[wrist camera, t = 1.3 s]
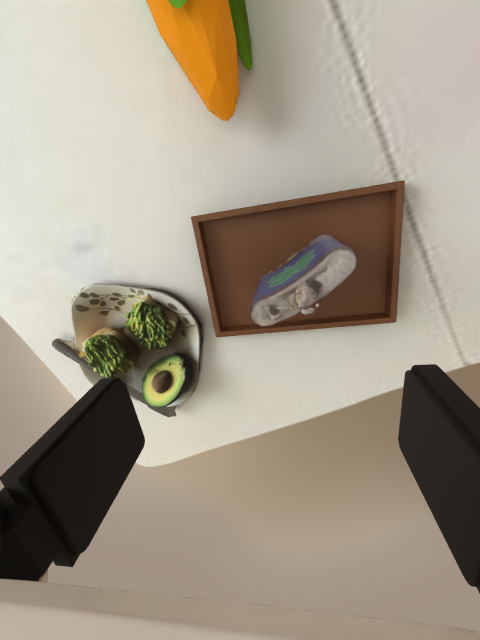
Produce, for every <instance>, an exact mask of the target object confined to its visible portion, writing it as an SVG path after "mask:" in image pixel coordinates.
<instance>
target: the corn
mask: <svg viewBox="0 0 480 640" xmlns="http://www.w3.org/2000/svg"><path fill="white" fill-rule="evenodd" d="M146 1H147V3H148V6H149V8H150V10H151V13H152V15H153V18H154V20H155V23H156V25H157V27H158V30H159V32H160V35H161V36H162V38H163V39H164V41H165V43H166V44H167V46H168V47H169V49H170V50H171V52H172V53H173V55H174V57H175V58H176V60H177V61H178V63H179V64H180V66H181V67H182V69H183V71H184V72H185V74H186V75H187V77H188V78H189V80H190V81H191V83H192V85H193V86H194V88H195V89H196V91H197V92H198V94H199V95H200V97H201V99H202V100H203V102H204V103H205V105H206V106H207V108H208V109H209V111H210V112H212V113H213V114H215V115H216V116H217V117H219V118H220V119H222V120H227V121H228V120H229V119H230V118H231V117H232V116H233V115H234V112H235V108H236V104H237V101H238V97H239V93H240V90H239V75H238V60H237V49H238V52H239V55H240V58H241V60H242V62H243V64H244V67H245V68H247V69H248V70H250V69H252V53H251V42H250V34H249V27H248V20H247V13H246V5H245V0H146Z"/></svg>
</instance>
